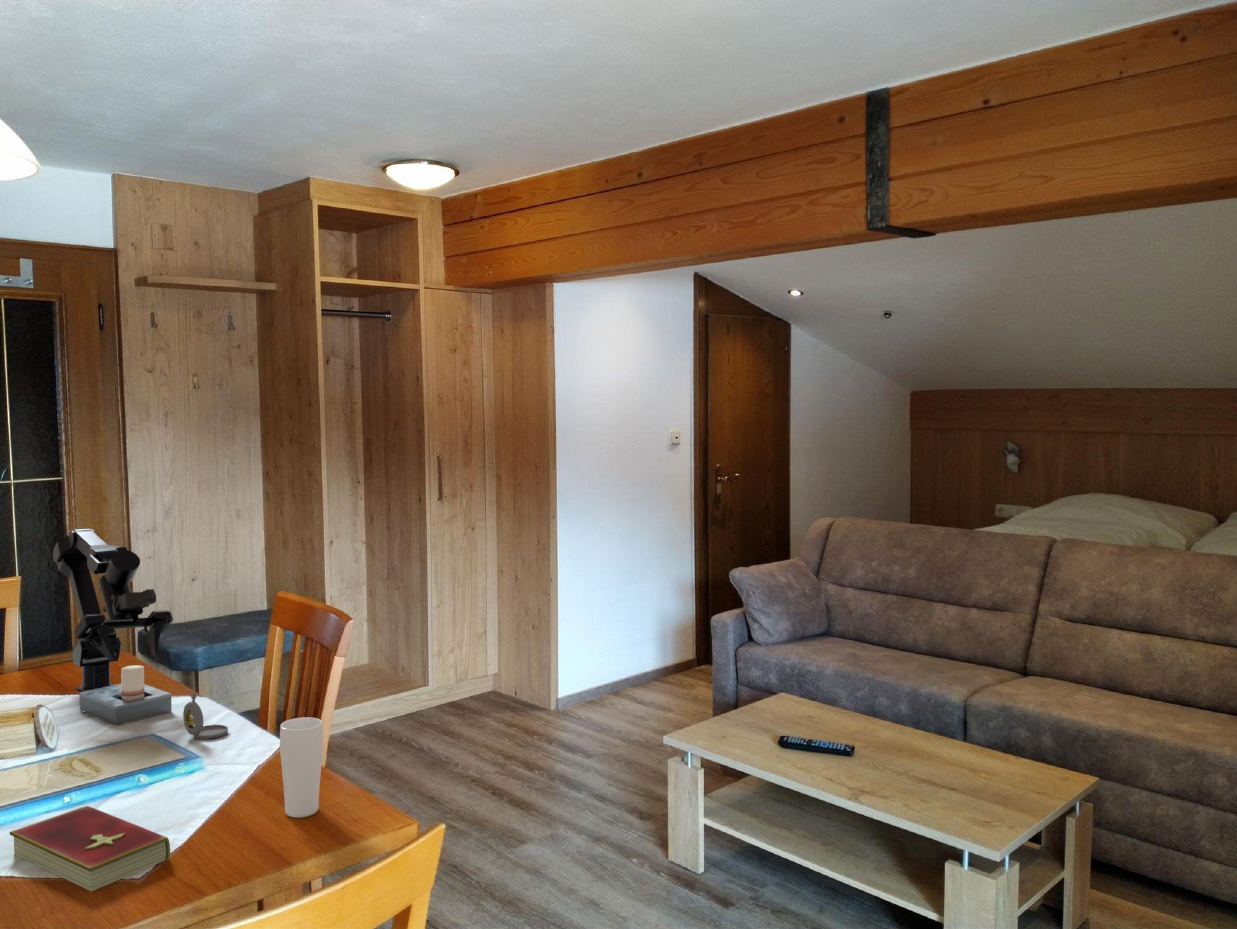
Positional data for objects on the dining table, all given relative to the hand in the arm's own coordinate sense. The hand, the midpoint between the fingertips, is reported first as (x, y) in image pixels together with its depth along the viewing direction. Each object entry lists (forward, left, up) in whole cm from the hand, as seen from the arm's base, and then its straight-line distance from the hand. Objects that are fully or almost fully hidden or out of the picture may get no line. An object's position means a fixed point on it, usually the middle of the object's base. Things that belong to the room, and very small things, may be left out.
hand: (134, 657), depth 208 cm
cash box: (-4, 0, -12) cm, 13 cm away
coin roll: (-1, 0, -12) cm, 12 cm away
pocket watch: (+24, +2, -13) cm, 27 cm away
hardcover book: (+60, -37, -13) cm, 72 cm away
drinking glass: (+71, -8, -13) cm, 73 cm away
